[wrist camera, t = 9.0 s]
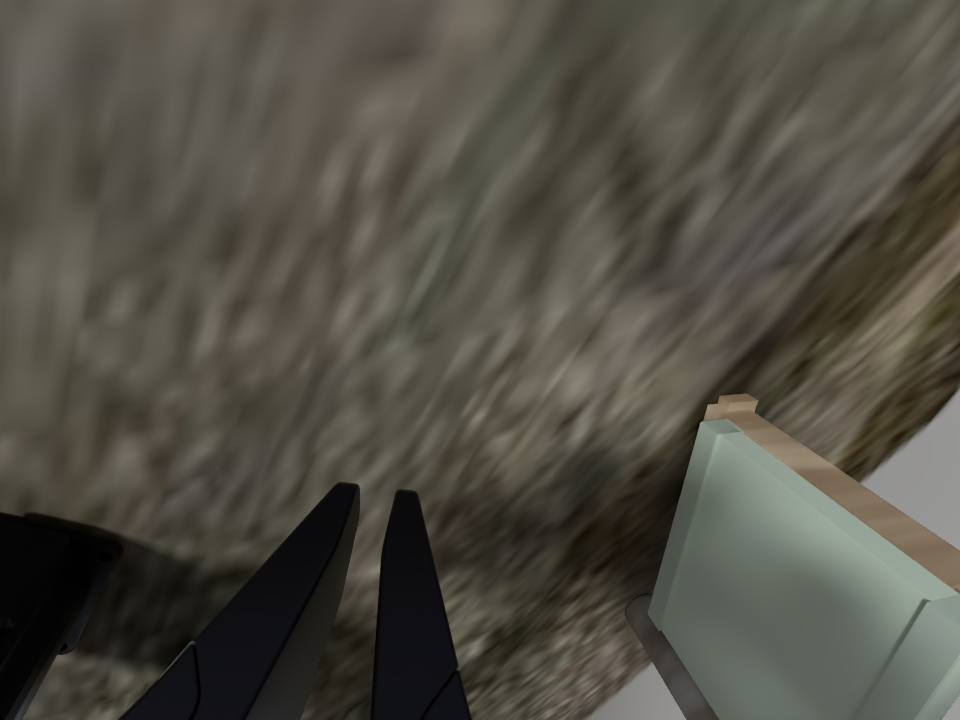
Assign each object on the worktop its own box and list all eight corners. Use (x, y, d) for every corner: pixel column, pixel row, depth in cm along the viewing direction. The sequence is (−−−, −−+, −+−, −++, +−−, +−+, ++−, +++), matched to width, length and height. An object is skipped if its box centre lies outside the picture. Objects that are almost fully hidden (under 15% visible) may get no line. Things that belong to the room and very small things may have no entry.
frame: (677, 611, 34) (870, 885, 21) (622, 623, 33) (792, 919, 20) (747, 393, 27) (1093, 614, 14) (680, 399, 26) (993, 643, 13)
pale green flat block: (669, 609, 31) (841, 856, 20) (647, 613, 30) (810, 869, 20) (727, 418, 25) (1009, 626, 14) (700, 421, 25) (971, 637, 14)
